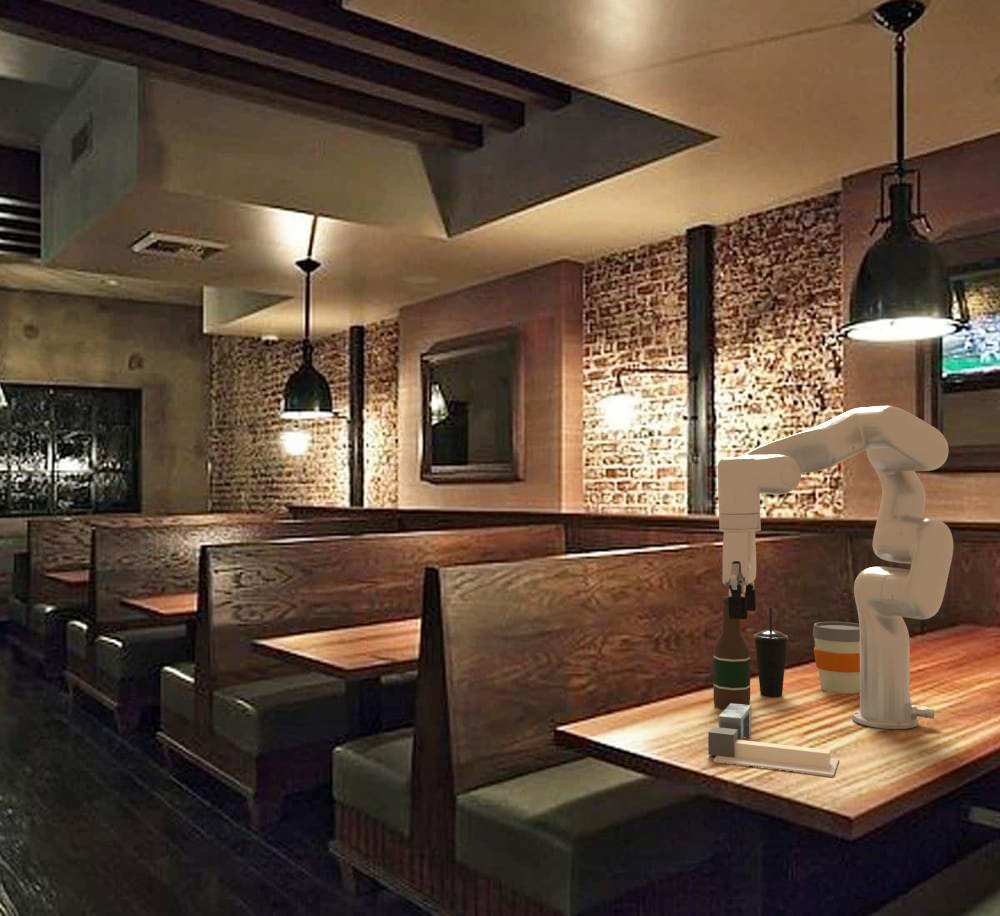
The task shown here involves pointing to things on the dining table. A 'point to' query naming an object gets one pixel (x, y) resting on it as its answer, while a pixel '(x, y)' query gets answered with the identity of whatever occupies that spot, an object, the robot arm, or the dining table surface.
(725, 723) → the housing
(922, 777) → the dining table surface
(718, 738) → the cream rectangular bar
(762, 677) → the drinking cup
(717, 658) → the beer bottle
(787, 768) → the mat
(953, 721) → the dining table surface
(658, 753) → the dining table surface
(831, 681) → the reusable coffee cup
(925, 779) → the dining table surface
